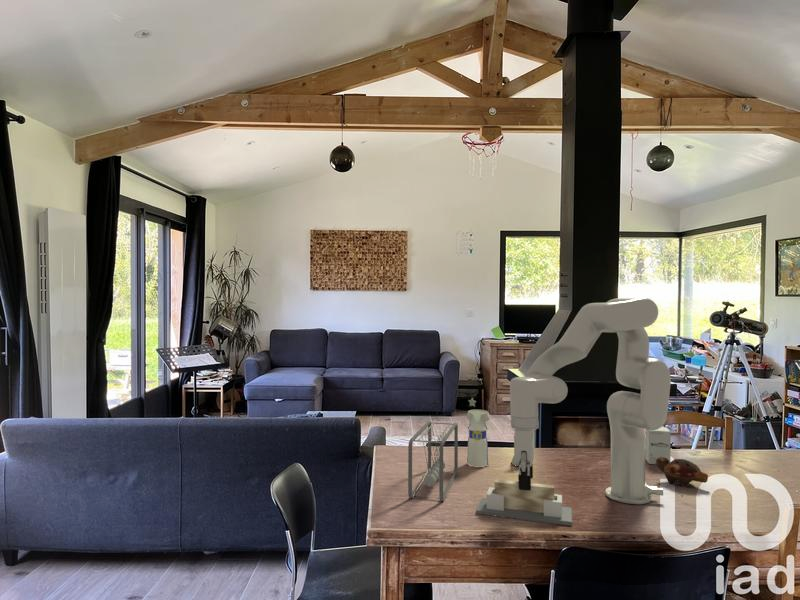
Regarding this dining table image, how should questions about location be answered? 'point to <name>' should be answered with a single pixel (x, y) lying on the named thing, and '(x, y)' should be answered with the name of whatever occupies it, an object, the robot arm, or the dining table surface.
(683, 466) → the decorative turtle
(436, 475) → the newton's cradle
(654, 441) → the supplement box
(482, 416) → the water bottle
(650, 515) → the dining table surface
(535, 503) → the slat
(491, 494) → the frame
